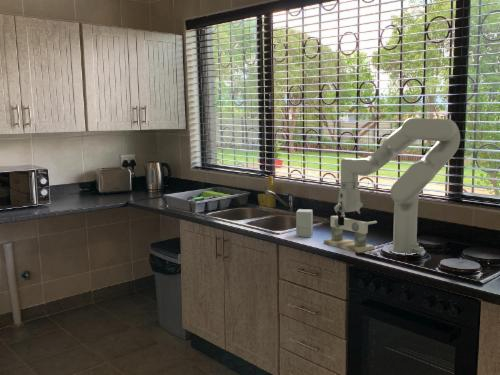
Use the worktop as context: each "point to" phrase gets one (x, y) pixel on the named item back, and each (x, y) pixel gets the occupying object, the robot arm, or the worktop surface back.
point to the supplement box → (304, 222)
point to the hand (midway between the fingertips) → (348, 223)
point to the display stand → (348, 241)
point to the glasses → (351, 225)
